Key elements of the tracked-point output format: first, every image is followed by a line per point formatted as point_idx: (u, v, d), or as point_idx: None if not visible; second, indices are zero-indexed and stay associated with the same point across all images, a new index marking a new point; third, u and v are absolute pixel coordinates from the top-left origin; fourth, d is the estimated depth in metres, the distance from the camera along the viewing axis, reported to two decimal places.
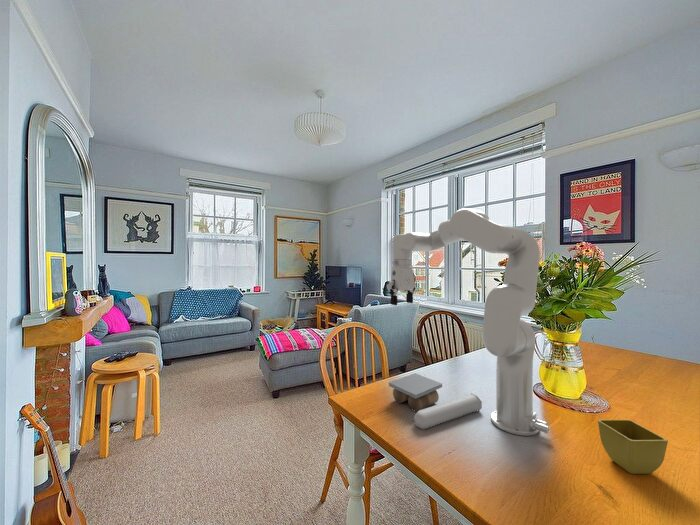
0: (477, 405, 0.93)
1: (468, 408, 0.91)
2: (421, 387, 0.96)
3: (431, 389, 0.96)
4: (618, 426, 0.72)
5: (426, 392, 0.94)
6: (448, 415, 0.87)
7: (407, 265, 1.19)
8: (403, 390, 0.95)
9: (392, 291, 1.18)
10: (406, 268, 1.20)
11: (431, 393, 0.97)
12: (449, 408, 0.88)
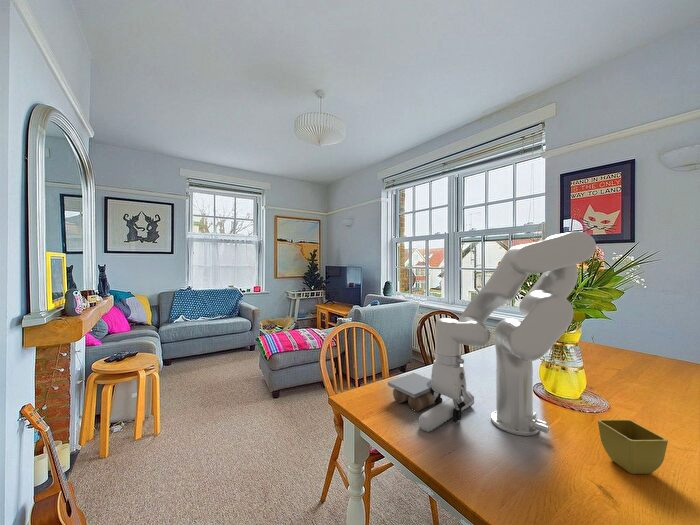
0: None
1: None
2: (420, 387, 0.97)
3: None
4: (618, 426, 0.72)
5: (425, 391, 0.95)
6: (449, 414, 0.87)
7: None
8: (402, 389, 0.96)
9: None
10: None
11: None
12: (449, 407, 0.89)
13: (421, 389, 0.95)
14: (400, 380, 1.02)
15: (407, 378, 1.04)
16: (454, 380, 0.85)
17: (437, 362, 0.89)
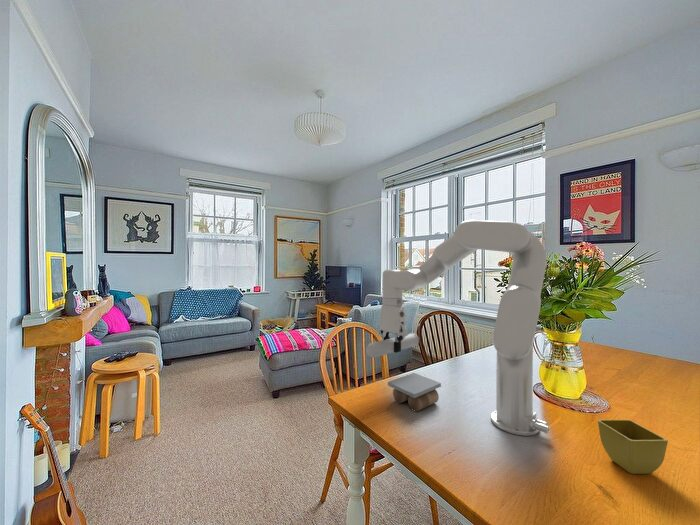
0: (415, 340, 1.14)
1: (408, 342, 1.11)
2: (420, 387, 0.97)
3: (430, 388, 0.96)
4: (618, 426, 0.72)
5: (425, 391, 0.95)
6: (392, 346, 1.06)
7: None
8: (402, 389, 0.96)
9: None
10: None
11: (431, 393, 0.97)
12: (394, 341, 1.07)
13: (421, 389, 0.95)
14: (400, 380, 1.02)
15: (407, 378, 1.04)
16: (395, 317, 1.05)
17: (383, 304, 1.08)
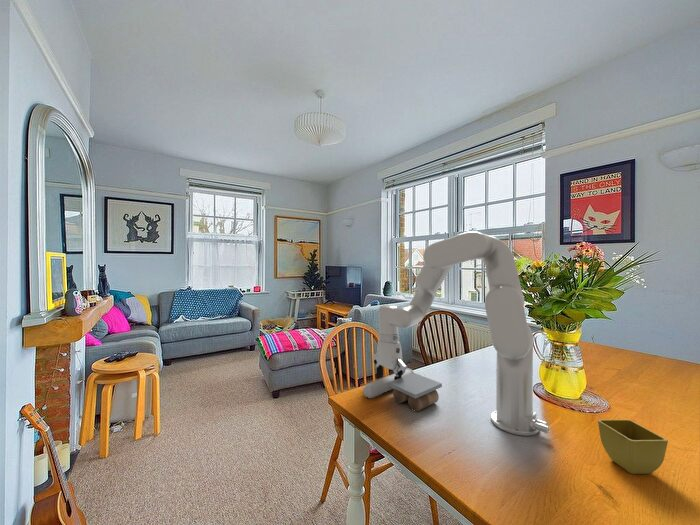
0: None
1: None
2: (421, 387, 0.97)
3: (431, 389, 0.96)
4: (618, 426, 0.72)
5: (426, 392, 0.94)
6: None
7: None
8: (403, 390, 0.95)
9: None
10: None
11: (431, 393, 0.97)
12: (390, 380, 1.09)
13: (422, 389, 0.95)
14: (401, 380, 1.02)
15: (408, 378, 1.04)
16: (391, 354, 1.06)
17: (379, 340, 1.09)
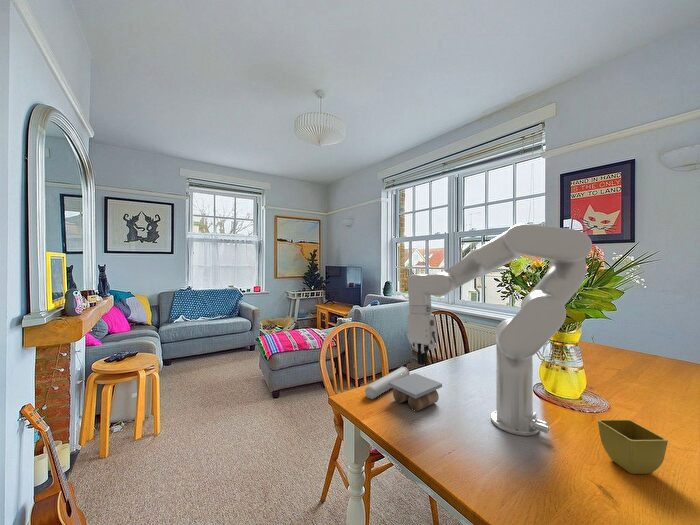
0: (407, 374, 1.18)
1: (401, 377, 1.15)
2: (421, 387, 0.96)
3: (431, 389, 0.96)
4: (618, 426, 0.72)
5: (426, 392, 0.94)
6: None
7: None
8: (403, 390, 0.95)
9: None
10: None
11: (431, 393, 0.97)
12: (389, 379, 1.10)
13: (422, 390, 0.95)
14: (401, 380, 1.02)
15: (408, 378, 1.04)
16: (425, 327, 0.94)
17: (410, 313, 0.97)
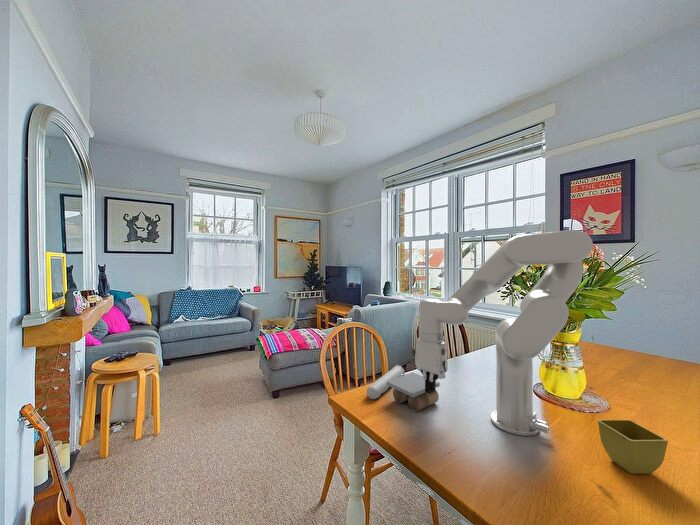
0: (402, 373, 1.20)
1: (398, 376, 1.16)
2: (419, 386, 0.97)
3: None
4: (618, 426, 0.72)
5: (423, 391, 0.95)
6: None
7: None
8: (401, 389, 0.96)
9: None
10: None
11: (431, 393, 0.97)
12: (388, 378, 1.11)
13: (420, 388, 0.95)
14: (399, 380, 1.03)
15: (406, 378, 1.04)
16: (436, 356, 0.91)
17: (420, 339, 0.94)
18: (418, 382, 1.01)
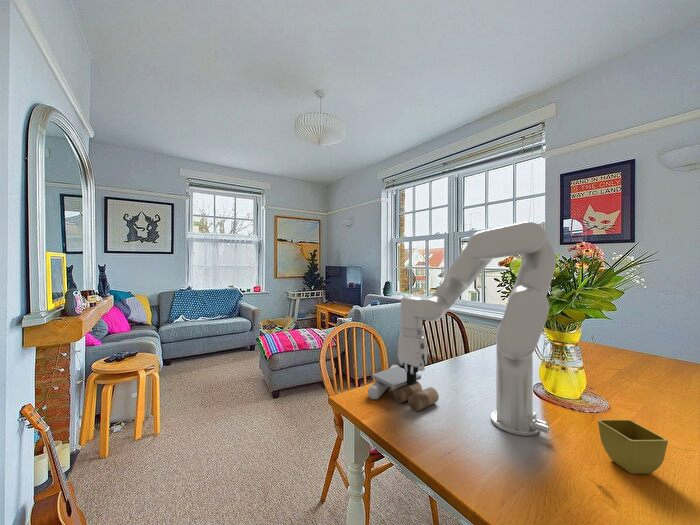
0: None
1: None
2: (401, 378, 1.04)
3: None
4: (618, 426, 0.72)
5: (405, 383, 1.01)
6: None
7: None
8: (384, 381, 1.02)
9: None
10: None
11: (431, 393, 0.97)
12: None
13: (402, 381, 1.02)
14: (383, 373, 1.09)
15: (390, 371, 1.11)
16: (415, 349, 0.97)
17: (402, 335, 1.00)
18: (401, 375, 1.07)
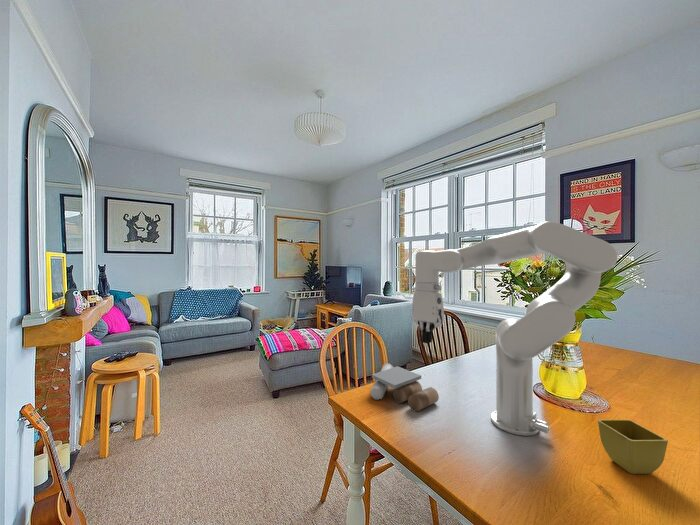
0: None
1: None
2: (401, 379, 1.04)
3: (410, 380, 1.03)
4: (618, 426, 0.72)
5: (405, 383, 1.01)
6: None
7: None
8: (384, 381, 1.02)
9: None
10: None
11: (431, 393, 0.97)
12: None
13: (402, 381, 1.02)
14: (383, 373, 1.09)
15: (390, 371, 1.11)
16: (432, 304, 0.92)
17: (417, 290, 0.95)
18: (401, 375, 1.07)
